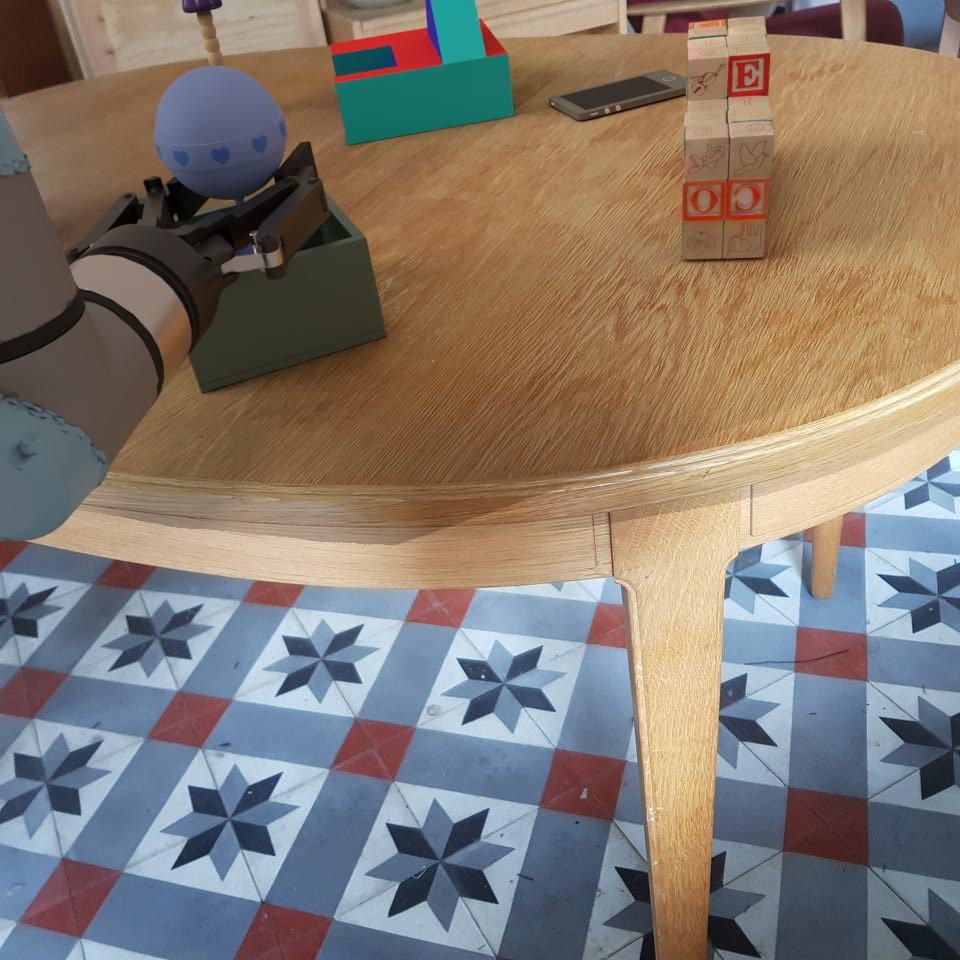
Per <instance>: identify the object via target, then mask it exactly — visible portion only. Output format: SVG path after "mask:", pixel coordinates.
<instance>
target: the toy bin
mask: <svg viewBox="0 0 960 960" xmlns="http://www.w3.org/2000/svg"><path fill="white" fill-rule="evenodd" d="M324 191H325V196H326V200H327V204H328V209H329V213H330V216H329V217H328V218H327V219H326V221H325V222H324V223H323V224H322V225H321V226H320V227H319V228H318V229H317V231H316V232H315V233H314V234H313V235H312V236H311V237H310V238H309V240H308V241H307V242H306V243H305V244H304V245H303V246H302V247H301V248H300V250H299V251H298V252H297V253H296V254H295V255H294V256H293V257H292V258H291V260H290V261H289V262H288V267H287V274H286V275H285V276H284V277H282V278H280V279H275V280H270V279H267V276H266V273H265V272H261V271H259V269H255V270H248V271H242V272H241V273H240V276H239V278H238V279H237V280H236V281H235V282H234V283H232V284H231V285H229V286H227V287H226V288H224V289H223V290H222V291H221V294H220V299H219V303H218V307H217V311H216V315H215V318H214V320H213V322H212V324H211V325H210V327H209V328H208V330H207V331H206V332H205V334H204V335H203V337H202V338H201V339H200V341H199V342H198V344H197V345H196V346H195V348H194V349H193V351H192V352H191V353H190V354H189V355H188V356H187V358H188V360H189V362H190V366H191V368H192V371H193V374H194V377H195V380H196V383H197V385H198V387H199V391H200V393H201V394H203V393H207V392H210V391H213V390H217V389H220V388H223V387H227V386H230V385H233V384H236V383H239V382H243V381H245V380H249V379H252V378H255V377H259V376H262V375H265V374H269V373H271V372H275V371H279V370H282V369H285V368H288V367H293V366H294V365H297V364H302V363H305V362H307V361H311V360H314V359H316V358H317V359H318V358H320V357H324V356H327V355H331V354H334V353H337V352H340V351H343V350H347V349H350V348H353V347H356V346H360V345H363V344H366V343H369V342H373V341H376V340H379V339H382V338H386V337H387V336H388V335H387V329H386V325H385V320H384V316H383V311H382V306H381V300H380V297H379V292H378V291H379V290H378V286H377V282H376V277H375V273H374V272H375V271H374V267H373V263H372V257H371V253H370V248H369V243H368V238H367V237H366V235H365V234H364V232H362V230H360V229H359V227H358V226H357V225H356V224H355V223H354V222H353V221H352V220H351V218H350V217H349V216H348V215H347V213H346V212H344V210H342V208H341V207H340V206H339V205H338V204H337V203H336V202H335V200H334V199H333V198H332V197H331V196H330V195H329V194H328V192H327V191H326V190H325V189H324ZM251 198H252V197H249V198H244V202H246V201H247V200H249V199H251ZM236 207H237V205H236V201H233V202H230V203H225V204H221V205H217V206H214V207H211V208H206V209H203V210H198V211H197V213H196V214H195V215H194V216H193V217H192V218H191V219H190V220H189V221H182V222H179V221H178V218H177V216H174V219H175V222H176V225H175V229H178V228H180V227H182V226H183V225H186V224H187V225H193V224H195V223H196V222H198V221H200V220H201V219H203V218H205V217H206V216H208V215H209V214H211V213H213V212H225V213H228V212H230V211H231V210H233V209H234V208H236Z"/></svg>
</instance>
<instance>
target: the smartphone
mask: <svg viewBox="0 0 960 960" xmlns="http://www.w3.org/2000/svg"><path fill="white" fill-rule="evenodd" d="M686 86H687V77H685V76H683V75H680V74H678V73H675V72H673V71H670V70H667V69H665V68H664V69H663V68H662V69H658V70H654V71H650V72H645V73H641V74H638V75H637V74H636V75H633V76H629V77H626V78H622V79H621V78H620V79H616V80H613V81H609V82H605V83H601V84H597V85H594V86H589V87H585V88H581V89H577V90H573V91H569V92H565V93H561V94H557V95H553V96H550V97H549V98H548V103H549V104H548V105H549V106H551V107H553V108H555V109H557V110H558V111H561V112H562V113H563V114H565V115H567V116H569V117H571V118H573V119H575V120H577V121H584V120H589V119H593V118H597V117H600V116H605V115H608V114H612V113H616V112H620V111H624V110H627V109H628V110H629V109H632V108H636V107H639V106H645V105H648V104H652V103H655V102H656V103H657V102H660V101H663V100H667V99H671V98H674V97H679V96H683V95H686Z"/></svg>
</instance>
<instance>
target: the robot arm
mask: <svg viewBox="0 0 960 960" xmlns="http://www.w3.org/2000/svg"><path fill="white" fill-rule="evenodd" d="M316 164H317V163H316V161H315V155H314V151H313V147H312V143H311V141H299V143H298V144H297V145H296V146H295V148H294V149H293V150H292V151H291V153H290V154H289V155H288V156H287V157H286V159H285V160H284V162H282V163H281V164H280V166H279V168H278V170H277V171H276V172H275V174H274V175H273V180H274V183H273V184H272V185H270V186H268V187H267V188H265V189H263V190H262V191H261V192H258V193H257V194H256V195H254V196H252V197H250V198H251V199H249V200H247V201H246V202H244V203H243V204H241V205H239V206H238V207H236V208H234V209H233V210H231V211H230V212H228V213H225V212H213V213H211V214H209V215H208V216H206V217H205V218H203V219H201V220H200V221H198V222H196V223H195V224H193V225H187V224H186V225H183V226H182V227H180V228H178V229H175V225H176V222H175V219H174V218H175V215H176V217H177V218H178V221H179V222H182V221H189V220H190V219H191V218H192V217H193V216H194V215H195V214H196V213H197V212H198V211H200V210H201V208H202V207H203V206H204V205H205V204H206V203H207V202H208V201H209V200H210V198H209V197H205V196H202V195H200V194H198V193H196V192H194V191H192V190H190V189H189V188H187V187H186V186H185V185H183V184H182V183H181V182H180V181H179V180H178V179H177V178H176V177H175V176H174V175H173V177H171V178H170V179H168V180H167V181H166V182H165V183H164V182H163V180H162V178H161V176H159V175H154V176H149V177H147V178H144V179H143V180H142V184H143V186H144V189H145V191H146V193H145V197H140V198H138V195H137V193H136V192H124V193H122V194H120V195H119V196H118V197H117V198H116V200H115V201H114V202H113V203H112V204H111V206H110V207H108V209H107V210H106V211H105V212H104V214H103V215H102V216H101V217H100V218H99V220H98V221H97V222H96V223H94V225H93V227H92V228H91V229H90V230H89V231H88V232H87V233H86V235H85V236H84V237H83V238H82V239H80V240H79V241H77V242H76V243H74V244H73V245H71V246H70V247H68V248H67V249H65V250H63V248H62V245H61V242H60V240H59V237H58V235H57V233H56V230H55V227H54V226H53V222H52V220H51V217H50V215H49V213H48V210H47V208H46V205H45V203H44V199H43V198H42V194H41V192H40V190H39V188H38V185H37V182H36V180H35V177H34V175H33V172H32V170H31V169H33V168H32V164H31V162H30V160H29V157H28V154H26V153H25V152H24V150H23V149H22V148H21V146H20V143H19V142H18V140H17V138H16V136H15V133H14V131H13V128H12V127H11V124H10V123H9V121H8V118H7V116H6V114H5V112H4V110H3V108H2V106H1V105H0V542H9V541H10V542H11V541H13V542H27V541H35V540H39V539H40V538H43V537H45V536H48V535H50V534H51V533H53V532H55V531H57V530H58V529H59V528H60V527H62V526H63V525H64V524H65V523H66V522H67V520H69V518H70V517H71V516H72V515H73V513H75V511H76V510H77V509H78V508H79V507H80V505H82V503H83V502H84V501H85V500H86V499H87V498H88V496H89V495H90V494H91V493H92V492H93V491H94V490H95V489H97V488H98V487H99V486H101V485H102V484H103V483H104V481H105V479H106V478H107V476H108V473H109V469H110V468H111V466H112V464H113V463H114V462H115V460H116V458H117V457H118V455H119V453H120V452H121V450H122V449H123V448H124V446H125V444H126V443H127V442H128V441H129V439H130V438H131V436H132V435H133V433H134V432H135V430H136V429H137V427H138V426H139V425H140V423H141V422H142V420H143V419H144V417H145V416H146V415H147V413H148V412H149V411H150V409H151V407H152V406H153V405H154V404H155V403H156V401H157V400H158V399H159V396H160V394H162V392H164V390H165V388H166V387H167V386H168V384H169V383H170V381H171V380H172V378H173V377H174V376H175V375H176V373H177V371H179V369H180V368H181V366H182V364H183V363H184V362H185V361H186V360H187V358H188V355H189V354H190V353H191V352H192V351H193V349H194V348H195V346H196V345H197V344H198V342H199V341H200V339H201V338H202V337H203V335H204V334H205V332H206V331H207V330H208V328H209V327H210V325H211V324H212V322H213V320H214V318H215V315H216V311H217V307H218V303H219V299H220V294H221V291H222V290H223V289H224V288H226V287H227V286H229V285H231V284H232V283H234V282H235V281H236V280H237V279H238V278H239V276H240V273H241V272H242V271H248V270H255V269H259V271H261V272H265V273H266V276H267V279H270V280H275V279H280V278H282V277H284V276H285V275H286V274H287V267H288V262H289V261H290V260H291V258H292V257H293V256H294V255H295V254H296V253H297V252H298V251H299V250H300V248H301V247H302V246H303V245H304V244H305V243H306V242H307V241H308V240H309V238H310V237H311V236H312V235H313V234H314V233H315V232H316V231H317V229H318V228H319V227H320V226H321V225H322V224H323V223H324V222H325V221H326V219H327V218H328V217H329V216H330V213H329V209H328V204H327V200H326V196H325V192H326V190H325V187H324V183H323V179H322V178H321V177H319V173H318V168H317V165H316ZM324 190H325V191H324Z"/></svg>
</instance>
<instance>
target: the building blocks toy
mask: <svg viewBox="0 0 960 960" xmlns="http://www.w3.org/2000/svg"><path fill="white" fill-rule="evenodd" d="M424 1H425V3H424V4H425V16H426V27H422V28H415V29H409V30H403V31H398V32H393V33H387V34H386V33H385V34H381V35H375V36H369V37H368V36H367V37H363V38H357V39H352V40H345V41H340V42H334V43H330V45H329V46H330V54H331V60H332V64H333V69H334V73H335V76H334V77H333V80H334V86H335V91H336V96H337V101H338V106H339V110H340V115H341V119H342V124H343V131H344V134H345V140H346V144H347V146H351V145H356V144H362V143H368V142H373V141H379V140H386V139H391V138H397V137H402V136H403V137H404V136H408V135H414V134H418V133H425V132H431V131H436V130H442V129H447V128H453V127H460V126H466V125H470V124H477V123H482V122H483V123H484V122H487V121H494V120H499V119H506V118H510V117H515V111H514V102H513V101H514V100H513V91H512V81H511V73H510V72H511V71H510V61H509V53H508V51H507V50H506V49H505V48H504V47H503V45H502V44H501V42H500V41H499V40H498V38H497V37H496V36H495V35H494V33H493V32H492V31H491V29H490V28H489V27H488V25H487V24H486V23H485V22H484V20H483V18H480V17H479V14H478V9H477V4H476V0H424Z"/></svg>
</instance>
